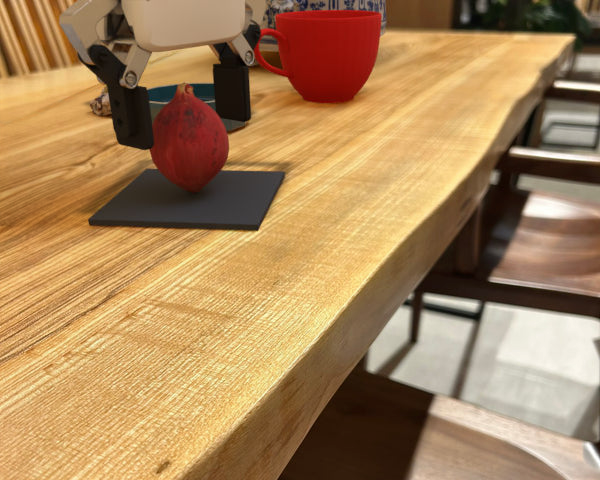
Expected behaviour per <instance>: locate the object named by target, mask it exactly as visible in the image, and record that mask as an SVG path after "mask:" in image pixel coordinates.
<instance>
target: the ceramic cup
mask: <svg viewBox="0 0 600 480" xmlns="http://www.w3.org/2000/svg"><path fill="white" fill-rule="evenodd" d="M381 20H382V16H381V13H379V12H374V11H361V10H316V11H298V12H287V13H280V14H277V15H275V22H276V30H274V29H269V28H266V29H261V37H260V39H259V41H258V43H257V45H256V47H255V49H254V51H253V52H254V56H255V59H256V60H257V62H258V63H259V64H258V65H259V66H260V67H262V68H263V69H264V70H266V71H267V72H269V73H272V74H274V75H278V76H281V77H284V78H287V80H288V81H289V83H290V85H291V86H292V87H293V89H294V90H295V91H296V93H297V94H298V95H299V96H300V97H301V98H302V101H303V102H304V101H305V102H308V103H311V104H313V103H314V104H327V105H329V104H341V103H347V102H351V101H353V100H354V99H355V97H356V95H358V93H359V92H360V91H361V90H362V89H363V88H364V86H365V85H366V83H367V81H368V80H369V78H370V76H371V75H372V72H373V69H374V67H375V64H376V60H377V56H378V52H379V46H380V40H381V37H380V32H381ZM265 35H271V36H273V37H274V38H275V39H276V40H277V42H278V49H279V52H278V54H279V59H280V63H281V66H282V69H281V68H278V67H275V66H274V65H271V64H270V63H268V62H267V60H265V59H264V57H263V55H262V53H261V50H259V43H260V40H261V38H262V37H263V36H265Z"/></svg>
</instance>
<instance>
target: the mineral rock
mask: <svg viewBox="0 0 600 480" xmlns="http://www.w3.org/2000/svg"><path fill="white" fill-rule="evenodd" d="M89 106H90V108H91V109H92V112H93V113H94V114H95V115H96V116H101V117H102V116H110V115H111V109H110V102H109V95H108V89H107V85H105V86H104V87H103V89H102V90H101V92H100V94H99V96H97V97H95V98H94V99H92V100H91V101H90V102H89Z"/></svg>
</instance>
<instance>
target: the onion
mask: <svg viewBox="0 0 600 480" xmlns="http://www.w3.org/2000/svg"><path fill="white" fill-rule="evenodd" d="M187 83H188V82H182V83H181V84H180V83H179V84H180V85H178V86H177V90H176V93H175V96H174V98H173V99H172V100H171V101H170V102H169V103H167V104H166V105H165V106H164V107H163V108H162V109H161V110H160V112H159V113H158V114H157V116H156V118H155V119H154V122H153V124H152V127H153V135H154V146H153V148H151V149H148V150H149V153H150V157H151V160H152V161H151V162H152V163H153V164H154V166H155V167H156V169H158V170H159V172H160V173H162V174H163V175H164V176H165V177H166V178H167V179H168V180H169V181H170V182H172V183H173V184H175V185H176V186H178V187H180V188H182V189H184V190H186V191H187V192H189V193H196V192H199V191H201V190H202V188H203V187H204V186H205V185H207V184H208V183H209V182H210V181H211V180H212V179H213V178H214V177H215V176H216V175H217V174H218V173H219V172H220V170H223V168H224V167H225V165H226V163H227V160H228V158H229V151H230V142H229V141H230V140H229V135H228V132H226V128H225V126H224V124H223V122H222V121H221V119H220V117H219V116H218V114H217V113H216V112H215V111H214V110H213V109H212V108H211V107H210V106H209V105H208V104H206V103H205V102H203V101H202V100H200V99H198V98H196V97H195V96H194V94H193V87H192V86H190V85H189V84H187Z"/></svg>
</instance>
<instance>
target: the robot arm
mask: <svg viewBox="0 0 600 480" xmlns="http://www.w3.org/2000/svg"><path fill="white" fill-rule="evenodd" d="M266 5H267V4H266V0H76V1H75V2H73V3H72V4H71V5H70V6H69V7H67V8H66V9H65V10H64V11H62V12H61V14H59V17H58V24H59V26H60V28H61V30H62V31H63V33H64V34H65V37H66V38H67V39H68V41H69V43H70V44H71V46H72V47H73V49H74V50H76V55H77V58H78V60H79V61H80V63H82V64H83V66H85V67H86V68H87V69H88V70H89V71H90V72H91V73H93V74H94V75H95V77H96V80H97V81H98V83H99V84H101V85H102V86H106V85H107V89H108V95H109V102H110V109H111V114H110V116H111V122H112V129H113V131H114V134H115V138H116V141H117V143H118V144H119V145H121V146H124V147H128V148H131V149H132V148H133V149H136V150H141V151H148V150H149V149H151V148H153V146H154V135H153V127H152V119H151V111H150V103H149V95H148V91H147V88H148V87H147V86H143V85H139V82H140V80H141V78H142V76H143V74H144V72H145V70H146V67H147V65H148V63H149V62H150V61H149V60H150V58H151V56H152V54H153V53H164V52H171V51H178V50H185V49H192V48H197V47H198V48H199V47H205V46H208V47H209V49H210V50H211V52H212V53H213V55H214V56H215V58H216V59H217V60H218V62H220V63H217V62H216V63H213V64H212V79H213V80H212V83H214V95H215V108H216V113H217V114H218V116H219V117H220V118H223V119H229V120H235V121H241V122H246V121H248V122H249V121H251V119H252V106H251V105H252V104H251V87H250V85H251V84H250V67H251V66H250V65H252V64H253V62H254V58H255V56H254V52H253V51H254V49H255V47H256V45H257V43H258V41H259V39H260V37H261V29H260V26H261V25H262V21H263V18H264V14H265V10H266ZM247 66H248V67H247Z"/></svg>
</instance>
